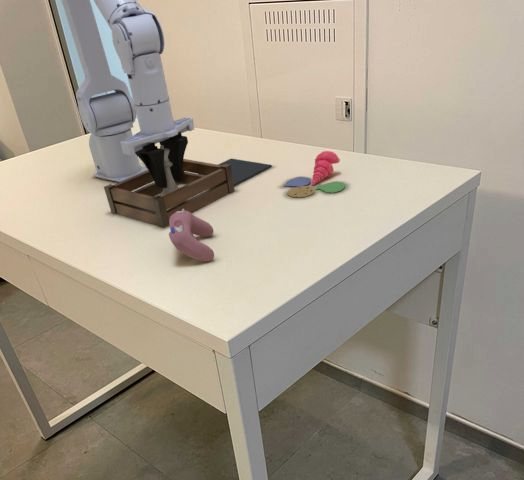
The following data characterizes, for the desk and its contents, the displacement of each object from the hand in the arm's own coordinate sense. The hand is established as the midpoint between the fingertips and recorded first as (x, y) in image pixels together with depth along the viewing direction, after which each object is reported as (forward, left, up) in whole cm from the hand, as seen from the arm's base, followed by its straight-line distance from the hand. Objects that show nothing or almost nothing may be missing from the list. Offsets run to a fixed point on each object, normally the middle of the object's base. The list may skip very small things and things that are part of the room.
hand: (169, 183), depth 97 cm
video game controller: (+18, -12, -4) cm, 22 cm away
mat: (0, +16, -3) cm, 16 cm away
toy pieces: (+19, +17, -4) cm, 26 cm away
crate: (0, 0, -3) cm, 3 cm away
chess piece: (0, 0, -4) cm, 4 cm away
